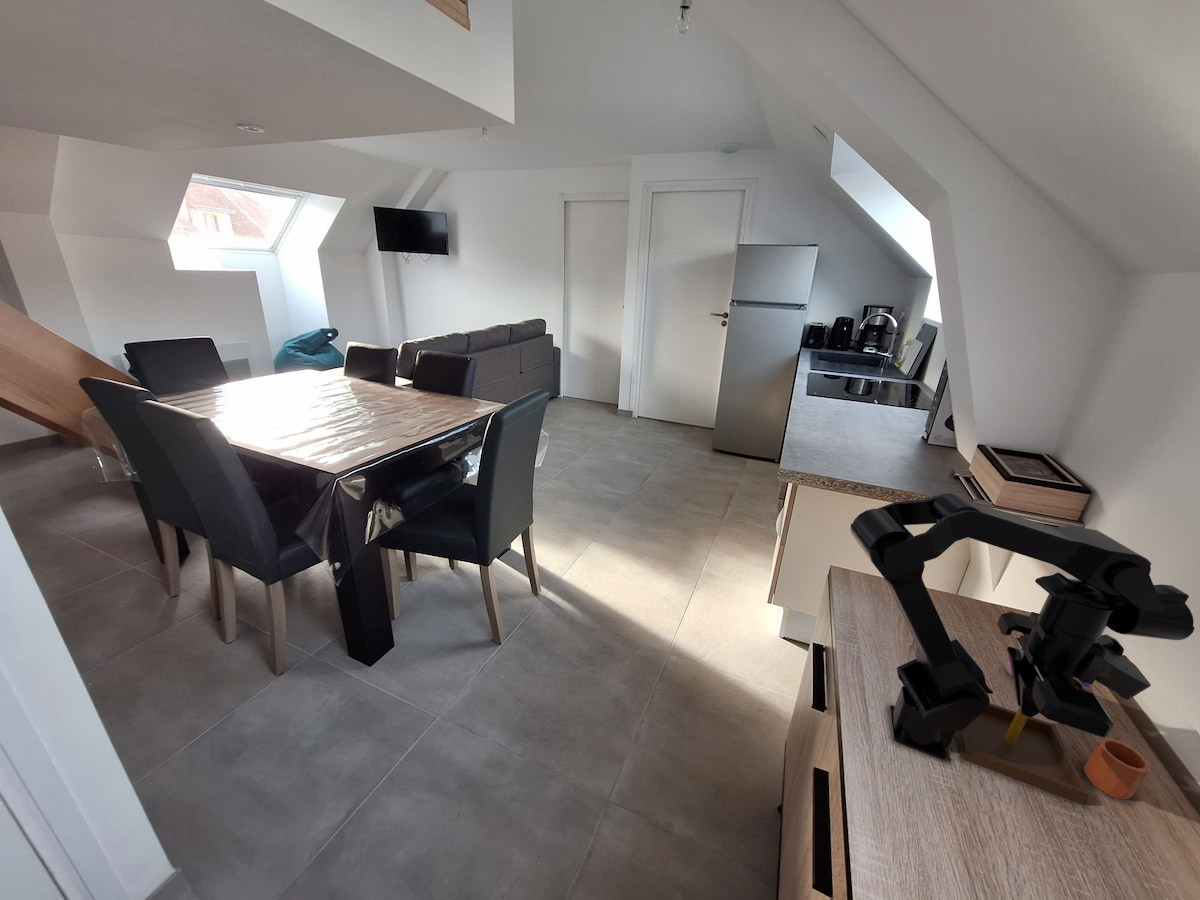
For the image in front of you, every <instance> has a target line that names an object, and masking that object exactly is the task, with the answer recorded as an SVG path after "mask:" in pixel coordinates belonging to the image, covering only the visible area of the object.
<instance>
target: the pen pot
mask: <svg viewBox="0 0 1200 900" xmlns="http://www.w3.org/2000/svg"><path fill="white" fill-rule="evenodd" d="M1151 767H1152V766H1151V765H1150V762H1149V761H1148V759H1147V758H1146V757H1145V756H1144V755H1143V754H1141V753H1140V752H1139V751H1138V750H1136V748H1134V747H1132V746H1130V745H1128V744H1127V743H1124V742H1123V741H1120V740H1117V739H1114V738H1111V737H1104V738H1103V737H1101V739H1100V740H1099V742H1097V745H1096V746H1095V748H1094V750H1093V751H1092V753H1091V755H1090V756H1089V758H1088V759H1087V761H1086V763H1085V764H1084V766H1083V773H1084V775H1085V777H1086V778H1087V779H1088V780H1089V781H1090V782H1091V783H1092V784H1093V785H1094V786H1095V787H1096V788H1098V789H1099V790H1100V791H1102V792H1104V793H1105V794H1107V795H1109V796H1111V797H1113V798H1115V799H1119V800H1130V799H1131V798H1132V797H1133V796H1134V794H1135V793H1136V791H1138V789H1139V787H1140V786H1141V784H1142V783H1143V781H1144V780H1145V779H1146V778H1147V776H1148V774H1149V773H1150V771H1151Z"/></svg>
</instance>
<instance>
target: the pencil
mask: <svg viewBox="0 0 1200 900" xmlns="http://www.w3.org/2000/svg"><path fill="white" fill-rule="evenodd" d="M1016 712H1017V713H1016V715H1015V717H1014V719H1013V721H1012V723H1011V725H1010V727H1009V729H1008V731H1007V733H1006V735H1005V737H1004V739H1005V740H1006V741H1007V742H1008V743H1010V744H1015V742H1016V740H1017V738H1018V736H1019V734H1020V732H1021V730H1022V728H1023V727H1024V725H1025V723H1026V721H1027V719H1028V716H1025V715H1023V714H1022V712H1021V705H1020V706H1018V709H1017V711H1016Z"/></svg>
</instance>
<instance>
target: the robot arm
mask: <svg viewBox="0 0 1200 900" xmlns="http://www.w3.org/2000/svg"><path fill="white" fill-rule="evenodd" d="M914 525H932V526H931V527H930V528H929V529H927V530H926V531H925V532H922V533H919V534H917V535H913V533H912V532H911V531H910V530H909V529H908V528H907V527H906V526H914ZM850 532H851V535H852V537H853V538H854V540H855V541H856V543H857V544H858V545H859V547H860V548H861V549H862V551H863V552H864V554H865V555H866V557H868V559H869V561H870V562H871V563H872V564H873V566H874V567H875V569H876V570H877V571H878V572H879V574H880V575H881V576H882V577H883V579H884V580H885V582H886V584H887V586H888V588H889V591H890V592H891V594H892V597H893V599H894V601H895V603H896V605H897V607H898V609H899V612H901V615H902V617H903V619H904V622H905V624H906V626H907V628H908V630H909V632H910V634H911V635H912V636H911V637H912V638H913V640H914V642H915V644H916V651H915V653H914V655H915V658H914V659H912V660H909V661H908V662H905V663H904V664H901V665H899V666H897V667H896V674H897V678H898V680H899V681H900V682H901V683H902V686H901V688H900V691H899V694H898V697H897V699H896V701H895V704H894V705H893V704H892V705H890V706H889V716H890V724H891V730H892V738H893V740H894V742H896V743H898V744H902V745H904V746H907V747H909V748H912V749H915V750H917V751H919V752H922V753H923V754H924V753H925V754H926V755H927V754H928V755H930V756H932V757H935V758H937V759H940V760H944V761H945V760H946V759H947V752H946V748H949V747H950V746H951V743H952V741H953V738H954V737H955V732H956V731H963V730H964V729H965V728H966V727H967V726H968V725H969V724H970V723H971V722H973V721H974V720H975V719H976V718H977V717H978V716H979V715H980V714H981V713H982V712H983V711H984V709H985V706H988V705H989V703H991V702H990V696H989V695H993V694H994V691H993V690H992V688H991V687H990V686H989V685H988V684H987V682H986V675H985V674H984V671H983V669H982V668H981V667H980V666H979V664H978V663H977V662H976V661H975V659H974V658H973V657H972V656H971V655H970V654H969V652H968V651H967V649H966V648H965V647H964V646H963V645H962V644H961V642H960V641H959V640H958V638H955V639H952V640H951V639H950V637H949V635H948V632H947V630H946V627H945V625H944V624H943V621H942V619H941V617H940V615H939V613H938V611H937V608H936V605H935V604H934V601H933V600H932V597H931V594H930V593H929V591H928V588H927V586H926V584H925V582H924V579H923V574H924V571H925V568H926V565H925V562H928V561H930V560H931V561H932V560H935V559H938V558H939V557H940V556H941V555H943V553H945V552H946V551H947V550H948V549H949V548H950V547H951V546H952V545H954V544H955V543H956V542H958V541H961V540H964V539H967V538H969V539H972V540H974V541H978V542H981V543H984V544H988V545H991V546H994V547H996V548H1000V549H1003V550H1006V551H1009V552H1013V553H1015V554H1018V555H1022V556H1025V557H1027V558H1031V559H1034V560H1037V561H1041V562H1043V563H1046V564H1049V565H1052V566H1054V567H1056V568H1058V569H1060V570H1062V571H1063V572H1065V573H1066V574H1069V575H1070V576H1072V577H1073V578H1068V577H1066V576H1065V575H1063V574H1062V573H1061V572H1055V573H1053V574H1050V575H1042V576H1040V577H1037V578H1036V579H1035V580H1034V583H1036V584H1037V585H1038V586H1039V587H1041V588H1042V589H1043V590H1044V591H1045V592H1047V593H1048V595H1047V596H1046V599H1045V601H1044V603H1043V605H1042V607H1041V609H1040V612H1039V613H1038V612H1034V611H1031V612H1030V614H1029V615H1025V614H1021V613H1018V612H1015V611H1008V612H1005V613H1001V614H1000V616H999V618H998V620H997V623H996V624H997V627H998V629H999V631H1000V633H1001V635H1002V636H1007V637H1008V636H1011V635H1012V633H1013V631H1014V632H1018V633H1022V634H1020V636H1019V637H1015V642H1016V645H1015V647H1012V646H1008V647H1006V652H1007V654H1008V659H1009V660H1008V661H1010V665H1011V670H1012V675H1013V676H1012V675H1011V676H1012V680H1013V685H1014V691H1015V697H1016V703H1017V706H1018V707H1020V705H1021V712H1022V714H1023V715H1025V716H1028V717H1033V718H1034V717H1035V716H1037V715H1039V714H1040V715H1042V717H1044V718H1046V719H1047V720H1049V721H1052V722H1055V723H1059V724H1061V725H1065V726H1068V727H1069V728H1070V727H1071V728H1074V729H1076V730H1079V731H1082V732H1086V733H1087V734H1092V735H1094V736H1097V737H1099V738H1107V737H1108V736H1109V734H1110V733H1111V731H1112V729H1113V728H1114V727H1115V723H1114V721H1113V720H1112V718H1111V717H1110V715H1109V714H1108V712H1107V710H1106V709H1105V707H1104V706H1103V704H1102V703H1101V701H1100V700H1099V699H1098V697H1096V695H1095V693H1094V694H1092V693H1089V692H1086V691H1085V690H1084V689H1083V687H1082V686H1081V684H1080V683H1079V682H1078V681H1077V680H1076V679H1074V678H1078V679H1079V681H1081V682H1084V683H1087V684H1091V686H1093V684H1094V683H1095V681H1096V682H1097V683H1099V684H1101V685H1102V686H1104V687H1105V688H1107V689H1109V690H1111V691H1113V692H1114V693H1117V694H1118V696H1119V697H1120V698H1122V699H1124V700H1127V701H1129V700H1131V699H1132V698H1134V697H1135V696H1137V695H1139V694H1141V693H1142V692H1144V691H1145V690H1147V689H1148V688H1151V686H1152V684H1151V683H1150V681H1149V680H1148V679H1147V677H1146V676H1145V675H1144V674H1143V672H1142V671H1141V670H1140V669H1139V668H1138V666H1137V665H1136V664H1135V663H1134V662H1133V661H1131V660H1130V659H1129V658H1128V655H1125V654H1124V653H1125V652H1124V651H1125V648H1124V647H1123V645H1122V644H1121V643H1120V641H1118V640H1117V639H1116V638H1114V637H1112V636H1111V635H1109V634H1104V631H1105V630H1106V628H1108V629H1109V630H1111V631H1113V632H1114V633H1117V634H1120V635H1124V636H1133V637H1134V636H1135V637H1143V638H1152V639H1161V640H1167V641H1183V640H1186V639H1187V638H1189V637H1190V636H1191V635H1192V634H1193V633H1194V631H1195V626H1194V622H1195V621H1194V615H1193V613H1192V611H1191V609H1190V607H1189V606H1188V605H1187V604H1186V603H1187V601H1188V600H1189V598H1190V595H1189V594H1187V593H1185V592H1184V591H1182V590H1180V589H1179V588H1177V587H1175V586H1174V585H1173V584H1172V585H1171V584H1154V583H1153V581H1152V578H1151V570H1152V567H1151V566H1152V561H1150V560H1149V559H1148V558H1146V557H1144V556H1143V555H1141V554H1140V553H1138V552H1136V551H1135V550H1133V549H1131V548H1129V547H1127V545H1126V546H1125V545H1124V544H1122V543H1120V542H1119V541H1117V540H1116V539H1113V538H1112V537H1110V536H1108V535H1107V534H1105V533H1103V532H1102V531H1100V530H1097V529H1094V528H1087V527H1080V526H1073V525H1064V526H1060V527H1058V526H1050V525H1046V524H1044V523H1040V522H1037V521H1034V520H1030V519H1028V518H1026V517H1025V518H1024V517H1022V516H1018V515H1015V514H1011V513H1008V512H1005V511H1002V510H1000V509H997V508H993V507H989V506H987V505H983V504H980V503H977V502H974V501H971V500H968V499H965V498H963V497H961V496H960V495H958V494H953V493H948V492H946V493H940V494H937V495H934V496H932V497H928V498H926V499H915V500H914V499H913V500H905V501H902V500H901V501H895V502H892V503H889V504H886V505H884V506H880V507H878V508H871V509H867V510H865V511H862V512H861V513H859V514H858V515H857V516H856V517H855V518H854V519H853V522H852V523H851V524H850ZM1074 578H1075V579H1074ZM1073 677H1074V678H1073Z"/></svg>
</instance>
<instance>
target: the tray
mask: <svg viewBox="0 0 1200 900" xmlns="http://www.w3.org/2000/svg"><path fill="white" fill-rule="evenodd" d="M1016 713H1017V711H1015V710H1012V709H1008V708H1005V707H1003V706H1000V705H996V704H994V703H991V702H989V705H988V706H985V709H984V711H983V712H982V713H981V714H980V715H979V716H978V717H977V718H976V719H975V720H974V721H973V722H971V723H970V724H969V725H968V726H967V727H966V728H965V729H964V730H963V731H956V732H955V734H954V736H955V739H956V742H957V746H958V749H959V750H958V751H959V754H960V757H961V759H962V760H963V761H964V760H965V761H966V762H969V763H972V764H975V765H977V766H981V767H983V768H986V769H988V770H991V771H994V772H996V773H999V774H1002V775H1004V776H1006V777H1009V778H1012V779H1014V780H1017V781H1020V782H1022V783H1025V784H1028V785H1030V786H1033V787H1036V788H1039V789H1041V790H1044V791H1046V792H1049V793H1052V794H1054V795H1056V796H1060V797H1061V798H1065V799H1067V800H1070V801H1073V802H1075V803H1078V804H1080V805H1084V804H1085V802H1086V801H1087V799H1088V798H1089V797H1090V793H1089V791H1088V789H1087V787H1086V785H1085V782H1084V781H1083V778H1082V777H1081V775H1080V773H1079V771H1078V769H1077V767H1076V765H1075V762H1074V761H1073V759H1072V757H1071V755H1070V753H1069V751H1068V749H1067V746H1066V745H1065V743H1064V741H1063V739H1062V737H1061V735H1060V733H1059V731H1058V729H1057V727H1056V725H1055V724H1053V723H1050V722H1049V721H1045V720H1042V719H1039V718H1036V717H1034V716H1033V717H1028V719H1027V721H1026V723H1025V725H1024V727H1023V728H1022V730H1021V732H1020V734H1019V736H1018V738H1017V740H1016V742H1015V744H1010V743H1008V742H1007V741H1006V740H1005V739H1004V737H1005V735H1006V733H1007V731H1008V729H1009V727H1010V725H1011V723H1012V721H1013V719H1014V717H1015V715H1016Z"/></svg>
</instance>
